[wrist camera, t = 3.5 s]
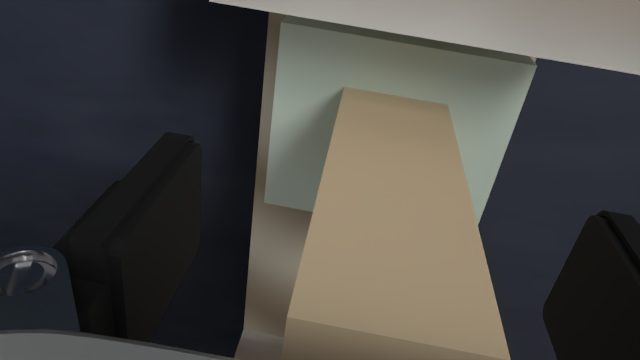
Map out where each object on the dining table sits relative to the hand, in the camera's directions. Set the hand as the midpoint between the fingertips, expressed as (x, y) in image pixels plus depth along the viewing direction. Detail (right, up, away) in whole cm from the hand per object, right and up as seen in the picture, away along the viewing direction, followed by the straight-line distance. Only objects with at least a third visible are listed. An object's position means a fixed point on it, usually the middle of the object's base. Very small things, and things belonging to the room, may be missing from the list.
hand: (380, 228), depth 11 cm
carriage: (+1, +4, +6) cm, 7 cm away
